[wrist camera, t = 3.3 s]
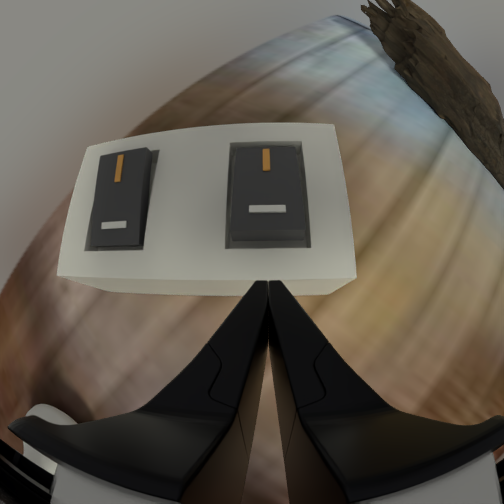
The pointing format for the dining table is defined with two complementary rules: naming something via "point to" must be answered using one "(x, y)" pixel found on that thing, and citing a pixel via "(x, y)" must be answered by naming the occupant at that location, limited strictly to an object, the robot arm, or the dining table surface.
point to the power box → (215, 217)
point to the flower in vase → (53, 417)
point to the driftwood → (441, 78)
